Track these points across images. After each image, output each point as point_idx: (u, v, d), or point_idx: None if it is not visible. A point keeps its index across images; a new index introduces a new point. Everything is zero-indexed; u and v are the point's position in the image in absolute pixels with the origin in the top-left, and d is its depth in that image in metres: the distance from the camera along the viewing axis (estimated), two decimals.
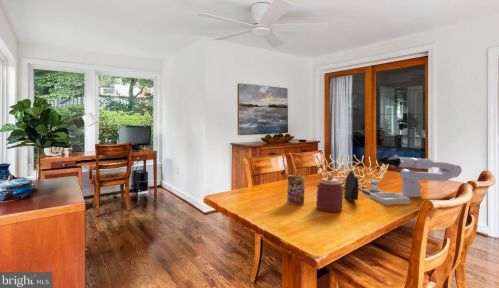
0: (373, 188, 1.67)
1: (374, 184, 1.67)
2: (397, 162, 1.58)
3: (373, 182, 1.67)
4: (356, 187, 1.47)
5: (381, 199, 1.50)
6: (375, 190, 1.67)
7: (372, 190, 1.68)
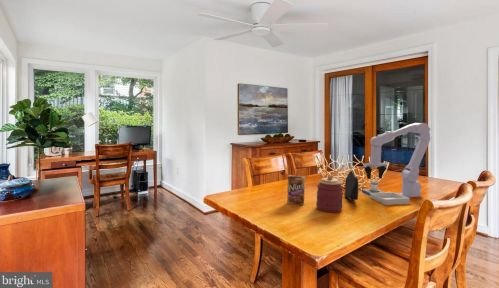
0: (373, 188, 1.67)
1: (374, 184, 1.67)
2: None
3: (373, 182, 1.67)
4: (356, 187, 1.47)
5: (381, 199, 1.50)
6: (375, 190, 1.67)
7: (372, 190, 1.68)
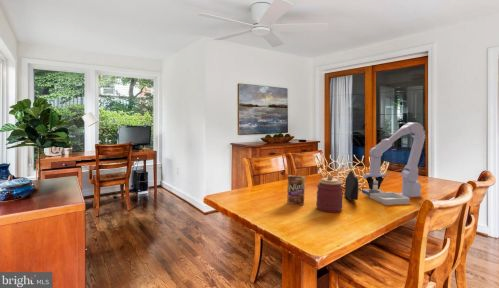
0: (373, 188, 1.67)
1: (374, 184, 1.67)
2: (369, 178, 1.68)
3: (373, 182, 1.67)
4: (356, 187, 1.47)
5: (381, 199, 1.50)
6: (375, 190, 1.67)
7: (372, 190, 1.68)
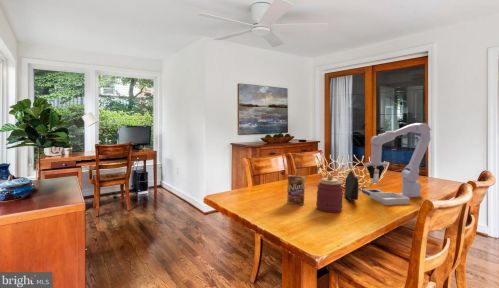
0: (374, 177, 1.66)
1: (375, 173, 1.66)
2: None
3: (374, 171, 1.66)
4: (356, 187, 1.47)
5: (381, 199, 1.50)
6: (376, 179, 1.66)
7: (373, 179, 1.67)
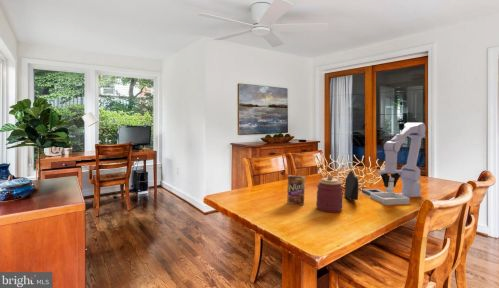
0: (389, 186, 1.53)
1: (390, 181, 1.53)
2: None
3: (389, 179, 1.53)
4: (356, 187, 1.47)
5: (381, 199, 1.50)
6: (391, 188, 1.53)
7: (388, 188, 1.54)
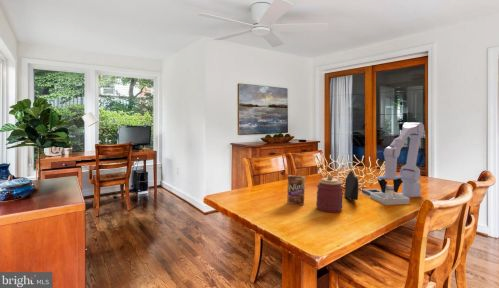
0: (388, 194, 1.54)
1: (390, 190, 1.53)
2: (381, 181, 1.54)
3: (388, 187, 1.54)
4: (356, 187, 1.47)
5: (381, 199, 1.50)
6: (390, 196, 1.54)
7: (387, 196, 1.54)
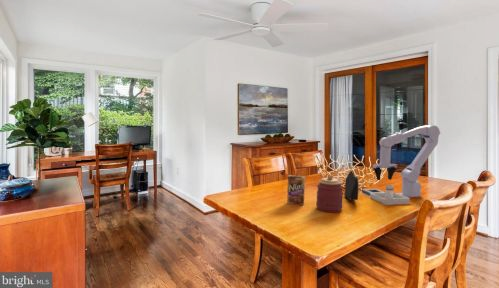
0: (388, 194, 1.54)
1: (390, 190, 1.53)
2: None
3: (388, 187, 1.53)
4: (356, 187, 1.47)
5: (381, 199, 1.50)
6: (391, 196, 1.54)
7: (387, 196, 1.54)
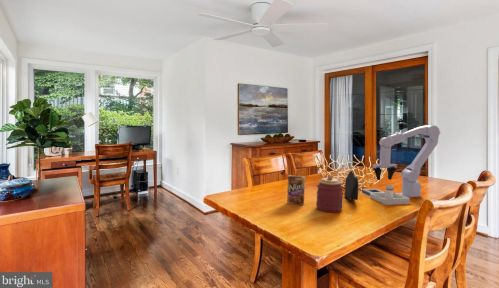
0: (388, 194, 1.54)
1: (390, 190, 1.53)
2: None
3: (388, 187, 1.53)
4: (356, 187, 1.47)
5: (381, 199, 1.50)
6: (390, 196, 1.54)
7: (387, 196, 1.54)
